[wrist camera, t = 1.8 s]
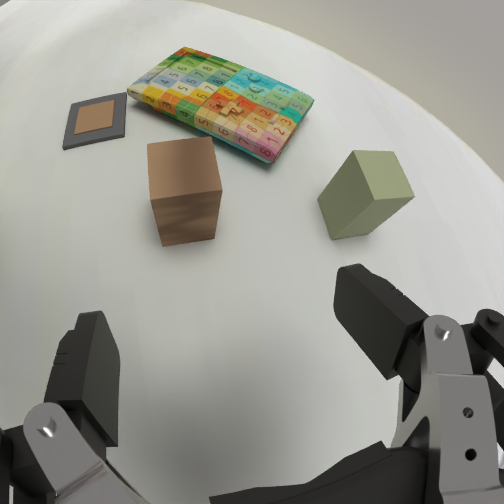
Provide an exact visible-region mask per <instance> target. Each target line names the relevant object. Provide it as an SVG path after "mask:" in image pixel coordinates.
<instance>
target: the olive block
mask: <svg viewBox="0 0 504 504" xmlns="http://www.w3.org/2000/svg"><path fill="white" fill-rule="evenodd" d="M414 197H415V196H414V193H413V191H412V189H411V187H410V184H409V182H408V180H407V178H406V176H405V174H404V172H403V169H402V167H401V165H400V163H399V161H398V159H397V157H396V155H395V153H394V152H391V151H363V150H353V151H352V152H351V154H350V155H349V156H348V158H347V159H346V161H345V162H344V163H343V165H342V166H341V167H340V169H339V170H338V172H337V173H336V174H335V176H334V177H333V178H332V180H331V181H330V182H329V184H328V185H327V186H326V188H325V189H324V191H323V192H322V193H321V195H320V196H319V197H318V202H319V205H320V208H321V211H322V214H323V217H324V220H325V223H326V226H327V229H328V232H329V235H330V238H331V240H336V239H342V238H348V237H354V236H361V235H367V234H369V233H370V232H372V231H373V230H374V229H376V228H377V227H378V226H379V225H381V224H382V223H383V222H384V221H386V220H387V219H388V218H389V217H391V216H392V215H393V214H394V213H396V212H397V211H398V210H399V209H401V208H402V207H403V206H404V205H405V204H407V203H408V202H409V201H410V200H412V199H413V198H414Z"/></svg>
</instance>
